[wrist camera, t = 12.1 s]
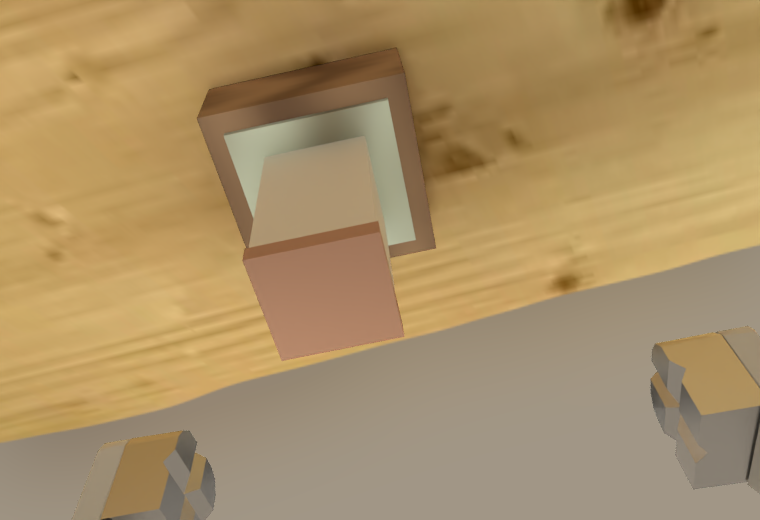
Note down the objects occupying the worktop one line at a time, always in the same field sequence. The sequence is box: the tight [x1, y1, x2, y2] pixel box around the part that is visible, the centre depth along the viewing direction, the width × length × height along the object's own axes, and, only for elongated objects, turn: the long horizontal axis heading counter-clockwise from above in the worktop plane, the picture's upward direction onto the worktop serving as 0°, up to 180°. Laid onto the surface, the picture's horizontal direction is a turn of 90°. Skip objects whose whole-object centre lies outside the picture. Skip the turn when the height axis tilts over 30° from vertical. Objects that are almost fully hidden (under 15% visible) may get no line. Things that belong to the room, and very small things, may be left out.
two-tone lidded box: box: [243, 135, 404, 361], centre depth 29 cm, size 5×5×9 cm
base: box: [197, 48, 436, 258], centre depth 35 cm, size 10×10×4 cm
